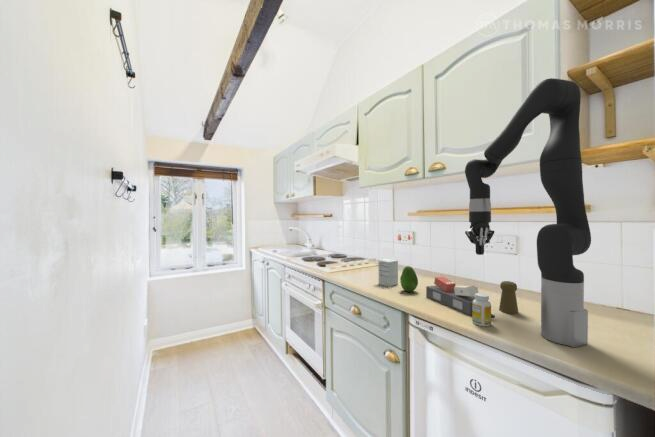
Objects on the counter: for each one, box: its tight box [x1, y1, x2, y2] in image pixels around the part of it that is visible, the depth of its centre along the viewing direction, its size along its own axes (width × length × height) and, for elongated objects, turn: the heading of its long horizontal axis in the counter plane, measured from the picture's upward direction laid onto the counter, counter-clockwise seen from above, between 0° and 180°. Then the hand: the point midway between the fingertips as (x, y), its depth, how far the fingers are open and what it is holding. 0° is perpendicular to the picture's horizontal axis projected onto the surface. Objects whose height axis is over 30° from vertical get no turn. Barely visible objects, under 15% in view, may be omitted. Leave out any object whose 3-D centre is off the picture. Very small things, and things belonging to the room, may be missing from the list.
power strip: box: [425, 284, 496, 320], centre depth 104 cm, size 29×8×5 cm, turn 19°
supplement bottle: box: [471, 292, 492, 327], centre depth 88 cm, size 5×5×10 cm
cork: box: [498, 280, 519, 315], centre depth 99 cm, size 6×6×11 cm
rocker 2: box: [454, 285, 479, 296], centre depth 101 cm, size 7×5×3 cm
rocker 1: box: [433, 276, 457, 291], centre depth 111 cm, size 7×5×3 cm
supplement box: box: [377, 258, 399, 287], centre depth 138 cm, size 7×7×13 cm
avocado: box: [399, 265, 419, 292], centre depth 125 cm, size 8×8×12 cm
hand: (479, 254), depth 105 cm, fingers closed
